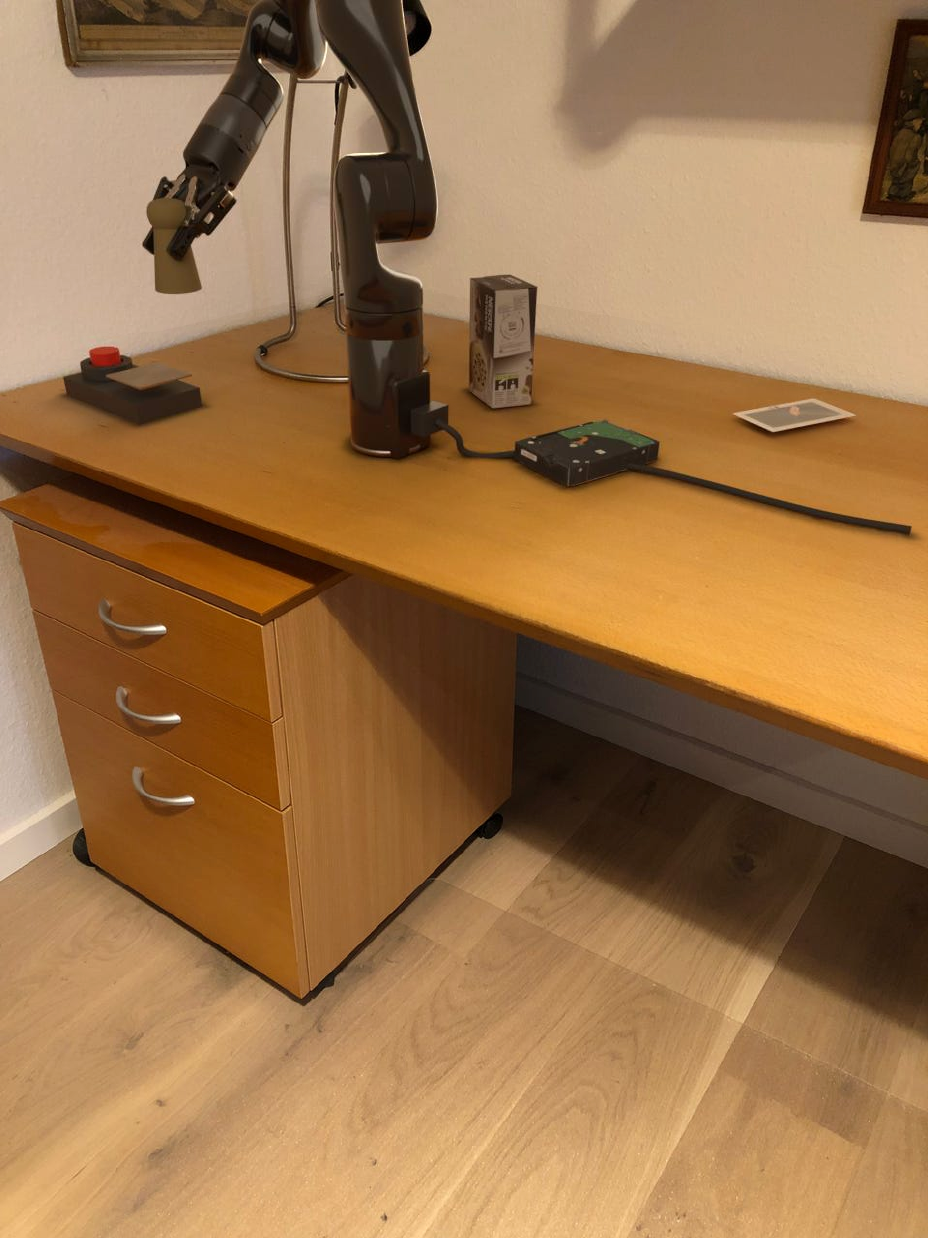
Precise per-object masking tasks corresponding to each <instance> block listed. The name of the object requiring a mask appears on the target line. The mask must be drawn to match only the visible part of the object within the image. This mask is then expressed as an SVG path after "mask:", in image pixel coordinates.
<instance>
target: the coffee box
mask: <svg viewBox="0 0 928 1238" xmlns="http://www.w3.org/2000/svg"><path fill="white" fill-rule="evenodd" d="M537 297H538V286H537V285H534V284H532V283H530V282H527V281H526V280H523V279H521V278H519V277H517V276H515V275H512V274H496V275H487V276H486V275H485V276H481V277H480V276H479V277H470V278H469V323H468V324H469V327H468V328H469V330H468V331H469V333H468V337H469V339H468V340H469V341H468V343H469V345H468V347H469V348H468V353H469V355H468V356H469V357H468V360H469V363H468V391H469V392H470V393H472V395H474V396H476V397H477V398H478V399H479V400H480V401H482V402H483V403H484V404H486V405H487V406H489V407H490V408H491V409H500V408H501V409H503V408H510V407H520V406H529V405H531V404H532V393H533V392H532V390H533V374H534V373H533V372H534V354H535V337H536V336H535V335H536V319H537V318H536V317H537V299H538V298H537Z"/></svg>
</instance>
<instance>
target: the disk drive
mask: <svg viewBox="0 0 928 1238" xmlns="http://www.w3.org/2000/svg"><path fill="white" fill-rule="evenodd" d="M660 443H661V442H660V441H659V440H657V439H654V438H651V437H649V436H648V435H644V434H642V433H640V432H637V431H636V430H633V429H625V428H624V427H622V426H618V425H617V424H613V423H611V422H610V421H609V420H607V419H604V420H596V421H587V422H584V423H581V424H577V425H574V426H569V427H565V428H561V429H559V430H555V431H554V430H553V431H550V432H547V433H542V434H539V435H535V436H529V437H526V438H523V439H520V440H517V441H515V442H514V451H515V456H514V458H513V459H514V460H515V461H518V463H520V464H522V465H523V466H525V467H527V468H529V469H531V470H533V471H536V472H537V473H539V474H542V475H543V476H545V477H547V478H549V479H551V480H552V481H555V482H557V483H559V484H562V485H564V486H566V487H574V486H576V485H582V484H585V483H589V482H591V481H595V480H597V479H601V478H605V477H607V476H610V475H614V474H616V473H619V472H625V471H627V470H628V469H627V465H628V464H629V463H636V464H641V465H647V464H650V463H653V462H654V461H657V460H658V459H659V452H660Z"/></svg>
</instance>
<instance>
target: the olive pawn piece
mask: <svg viewBox="0 0 928 1238" xmlns="http://www.w3.org/2000/svg"><path fill="white" fill-rule="evenodd" d="M152 200H153V199H152ZM152 200H150V201H149V202H148V203H147V206H146V211H145V213H146V218H147V220H148V223H149V224H150V225H151V227H152V226H153V233H154V255H153V264H154V265H153V267H154V290H155V292H157V293H159V294H164V295H185V294H192V293H196V292H199V291H201V290H202V289H203V285H202V281H201V279H200V274H199V271H198V267H197V263H196V259H195V256H194V252H193V248H192V245H191V246H190V247H189V249H188V251H187V253H186V254H185V256H184V257H183V259H182V260H181V261H177V260H175V259H173V258H172V257H171V256H170V255H169V254H168V253H167V251H166V249H167V247H168V245H169V243H170V241H171V240H172V238H173V236H174V235H175V233H176V231H177V229H178V228H179V226H181V227H184V226H183V225H182V221H183V219H184V217H185V215H186V209H185V206H184V204H185V203H184V202H183V201H181V200H178V199H173V198H160V199H156V200H153V201H152Z"/></svg>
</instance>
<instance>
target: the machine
mask: <svg viewBox="0 0 928 1238" xmlns="http://www.w3.org/2000/svg"><path fill="white" fill-rule="evenodd" d="M120 358H121V363H119V364H116V365H112V366H93V365H91V360H90V357H86V358H84V359H83V360H80V362H79V366H80V371H81V372H76V373H73V374H68V375H64V376H62V380H63V383H64V388H65V393H66V396H68V397H71V398H73V399H76V400H78V401H80V402H82V403H85V404H88V405H90V406H92V407H95V408H97V409H100V410H102V411H104V412H107V413H110V414H112V415H115V416H117V417H119V418H122V419H124V420H126V421H128V422H132V423H134V424H137V425H139V426H140V425H144V424H147V423H151V422H153V421H157V420H161V419H163V418H167V417H170V416H174V415H178V414H181V413H184V412H188V411H191V410H195V409H198V408H201V407H203V401H202V395H201V388H200V387H199V386H196V385H193V384H190V383H187V382H185V381H182V380H180V379H179V380H176V381H172V382H168V383H165V384H161V385H157V386H153V387H150V388H146V389H142V390H140V389H137V388H134V387H131V386H129V385H126V384H123V383H121V382H118V381H115V380H113V379H110V378H107V377H106V375H109V374H113V373H117V372H121V371H125V370H129V369H133V368H137V367H140V366H139V365H136V364H133V359H132V357H130V356H128V355H124V354H120Z"/></svg>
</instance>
